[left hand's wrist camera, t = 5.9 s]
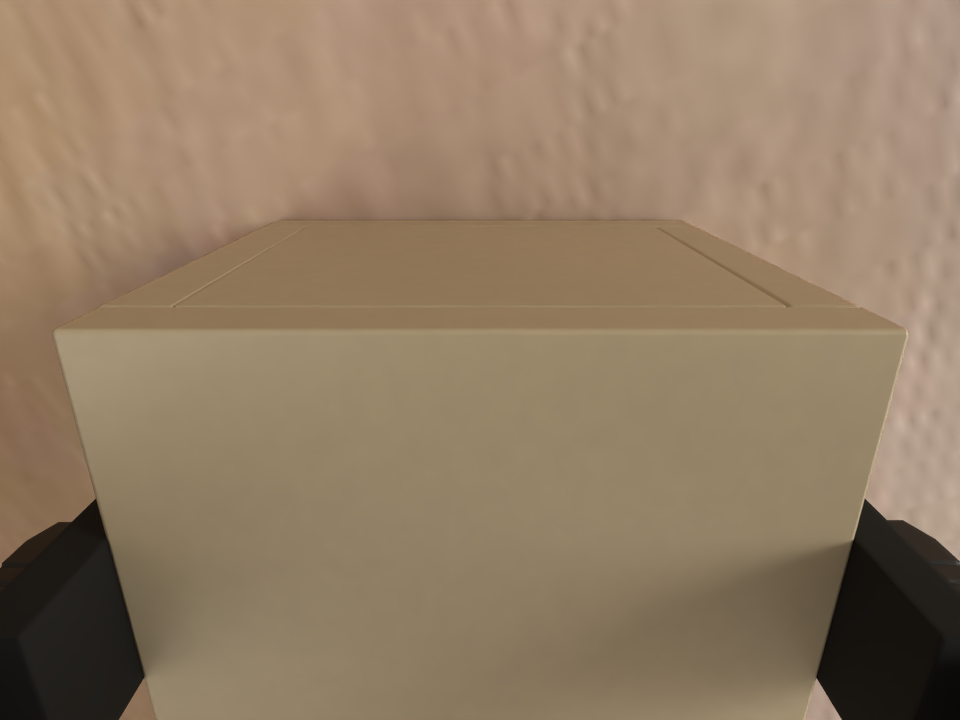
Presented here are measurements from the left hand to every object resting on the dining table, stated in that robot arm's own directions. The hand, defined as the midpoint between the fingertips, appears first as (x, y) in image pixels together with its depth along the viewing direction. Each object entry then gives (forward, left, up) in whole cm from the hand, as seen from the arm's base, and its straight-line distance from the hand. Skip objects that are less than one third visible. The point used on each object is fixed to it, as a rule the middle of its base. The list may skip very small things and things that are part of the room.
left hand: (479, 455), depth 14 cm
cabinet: (+4, 0, -4) cm, 6 cm away
